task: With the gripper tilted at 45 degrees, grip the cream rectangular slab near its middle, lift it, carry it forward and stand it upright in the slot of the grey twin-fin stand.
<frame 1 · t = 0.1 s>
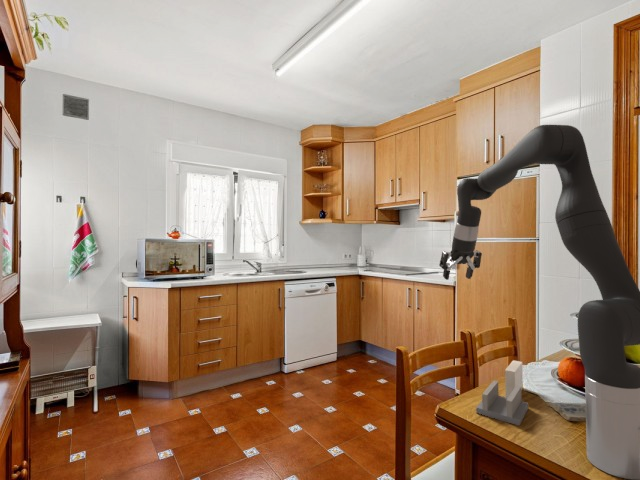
hand: (457, 278, 126), 31 cm above the table, fingers open, 8 cm apart
grey twin-fin stand: (502, 410, 93), on the table
ceramic fragment: (575, 415, 91), on the table
cream rectangular slab: (514, 392, 103), on the table
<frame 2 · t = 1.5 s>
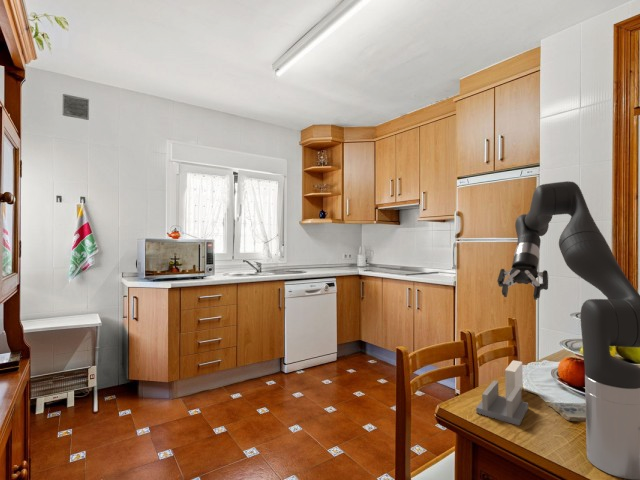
hand: (519, 296, 112), 27 cm above the table, fingers open, 8 cm apart
nothing on the table moved.
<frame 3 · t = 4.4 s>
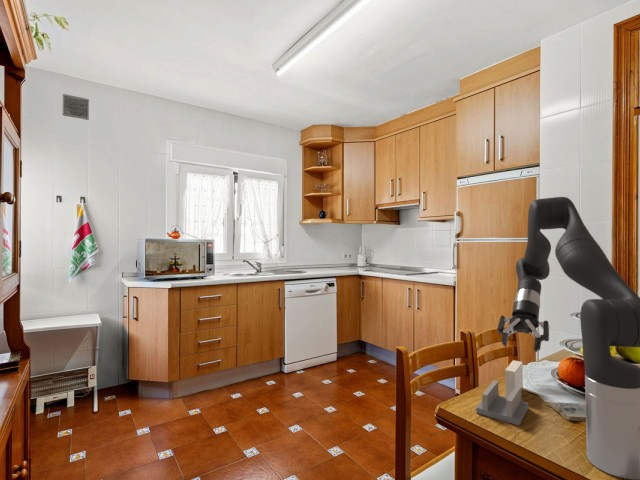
hand: (519, 347, 110), 11 cm above the table, fingers open, 8 cm apart
nothing on the table moved.
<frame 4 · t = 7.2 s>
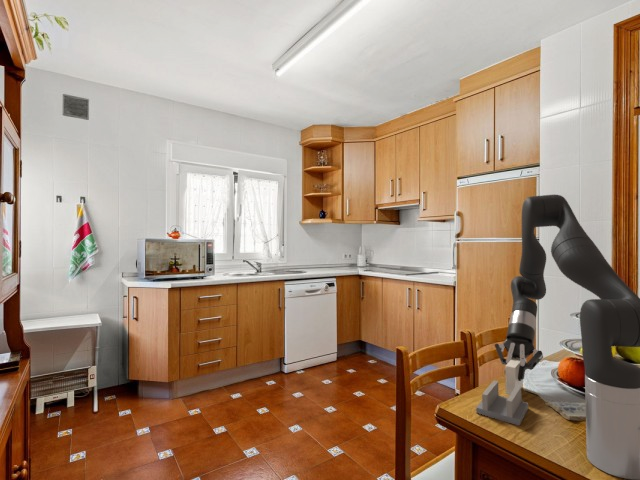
hand: (513, 378, 103), 4 cm above the table, fingers closed on cream rectangular slab, 2 cm apart
cream rectangular slab: (514, 389, 104), point 1 cm above the table, touching gripper
everything else where it was.
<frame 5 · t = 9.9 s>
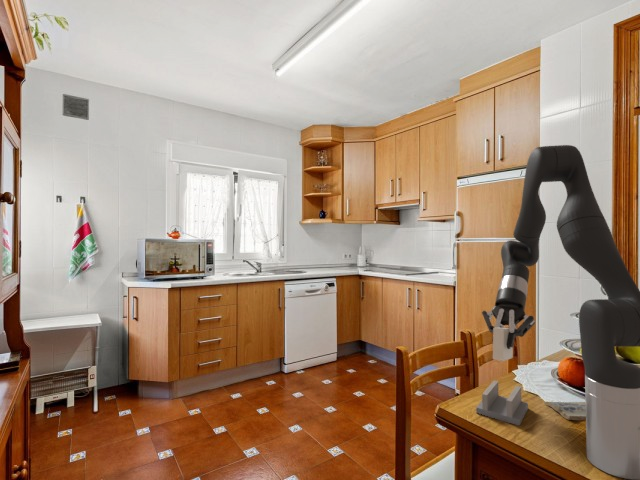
hand: (502, 346, 93), 17 cm above the table, fingers closed on cream rectangular slab
cream rectangular slab: (503, 358, 93), point 14 cm above the table, tilted 10°, touching gripper
everything else where it was.
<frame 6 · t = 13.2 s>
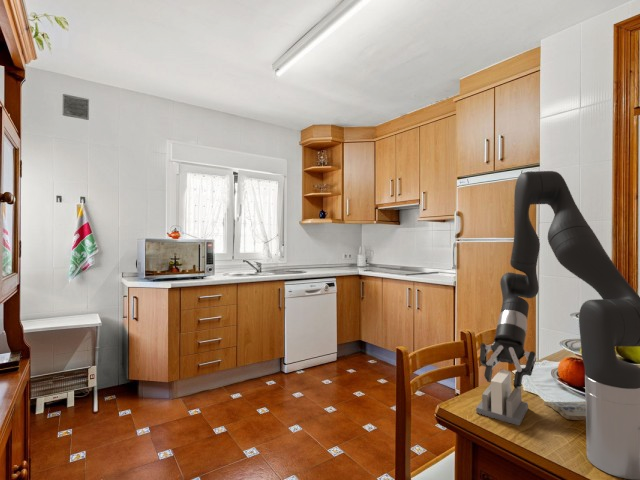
hand: (501, 383, 93), 7 cm above the table, fingers open, 6 cm apart
cream rectangular slab: (501, 405, 92), point 1 cm above the table, touching grey twin-fin stand
everything else where it was.
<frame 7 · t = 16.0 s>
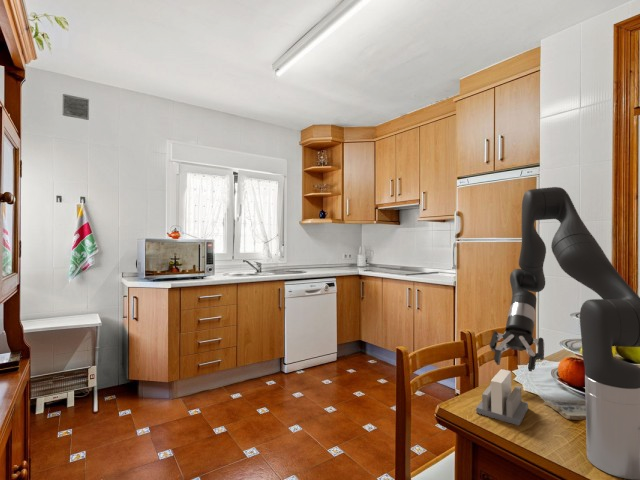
hand: (513, 366, 103), 8 cm above the table, fingers open, 8 cm apart
nothing on the table moved.
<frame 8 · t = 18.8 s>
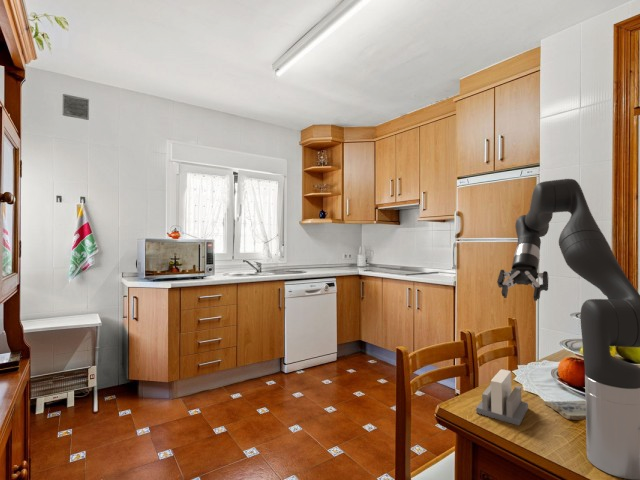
hand: (519, 297, 111), 27 cm above the table, fingers open, 8 cm apart
at the end: cream rectangular slab 0.5 cm off-centre on the grey twin-fin stand, point 1.5 cm above the grey twin-fin stand's base; cream rectangular slab tilted 0°; the gripper is holding nothing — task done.
